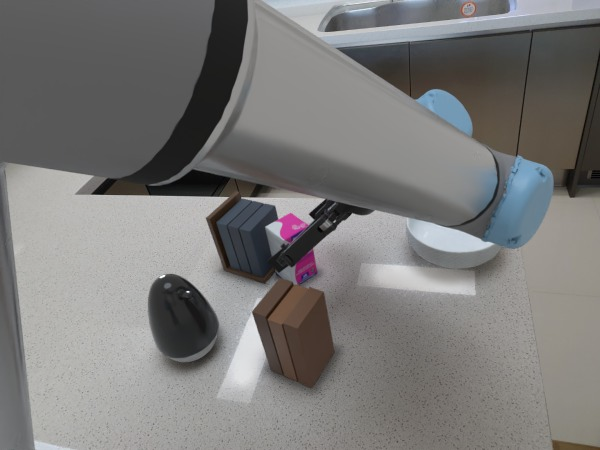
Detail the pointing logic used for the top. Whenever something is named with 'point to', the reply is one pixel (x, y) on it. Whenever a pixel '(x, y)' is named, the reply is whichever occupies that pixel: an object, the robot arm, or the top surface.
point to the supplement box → (286, 233)
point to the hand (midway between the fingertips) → (295, 240)
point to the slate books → (243, 236)
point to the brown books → (295, 331)
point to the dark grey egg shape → (181, 319)
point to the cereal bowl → (448, 245)
